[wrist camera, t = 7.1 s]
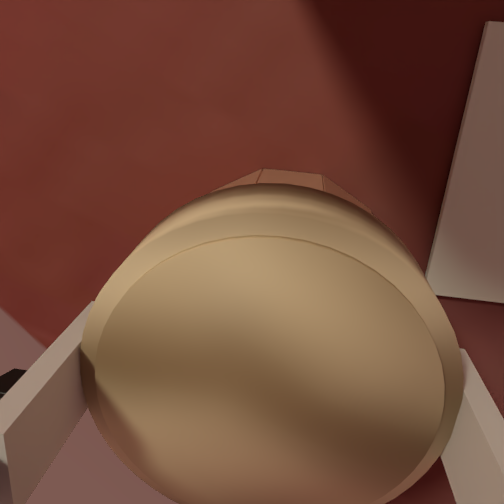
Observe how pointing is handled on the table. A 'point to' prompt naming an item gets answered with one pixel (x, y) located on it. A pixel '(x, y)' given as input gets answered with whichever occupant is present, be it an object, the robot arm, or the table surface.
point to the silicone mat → (475, 188)
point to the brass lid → (272, 354)
